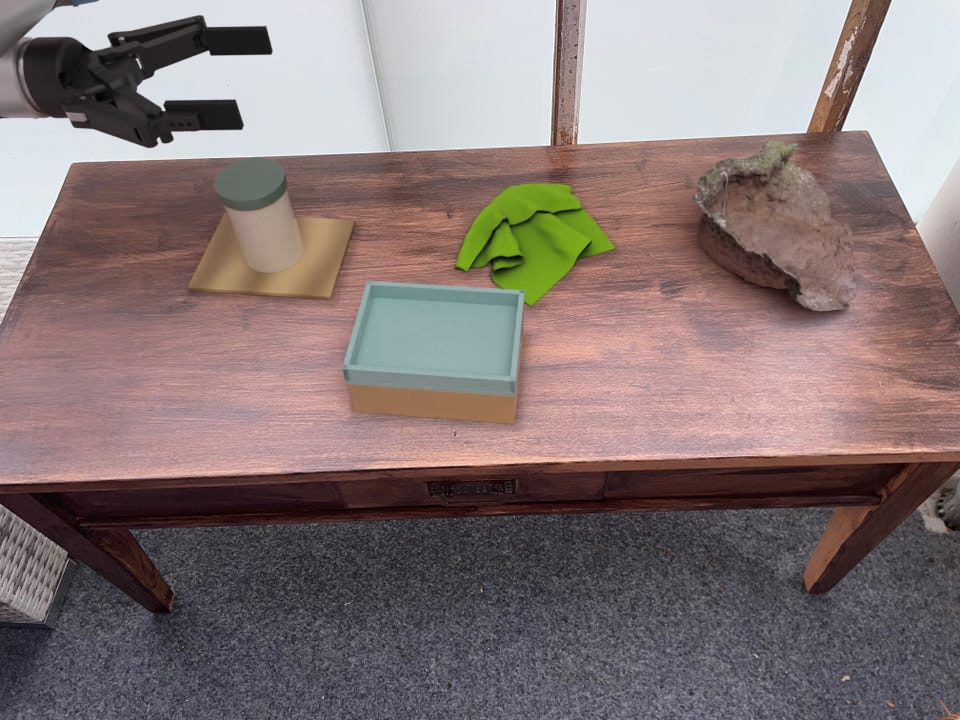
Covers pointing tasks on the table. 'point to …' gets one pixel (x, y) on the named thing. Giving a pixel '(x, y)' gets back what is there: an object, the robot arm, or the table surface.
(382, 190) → the table surface
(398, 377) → the teal and tan box
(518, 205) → the cloth
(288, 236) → the jar
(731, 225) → the rock
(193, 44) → the robot arm
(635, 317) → the table surface
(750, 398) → the table surface
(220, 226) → the mat
